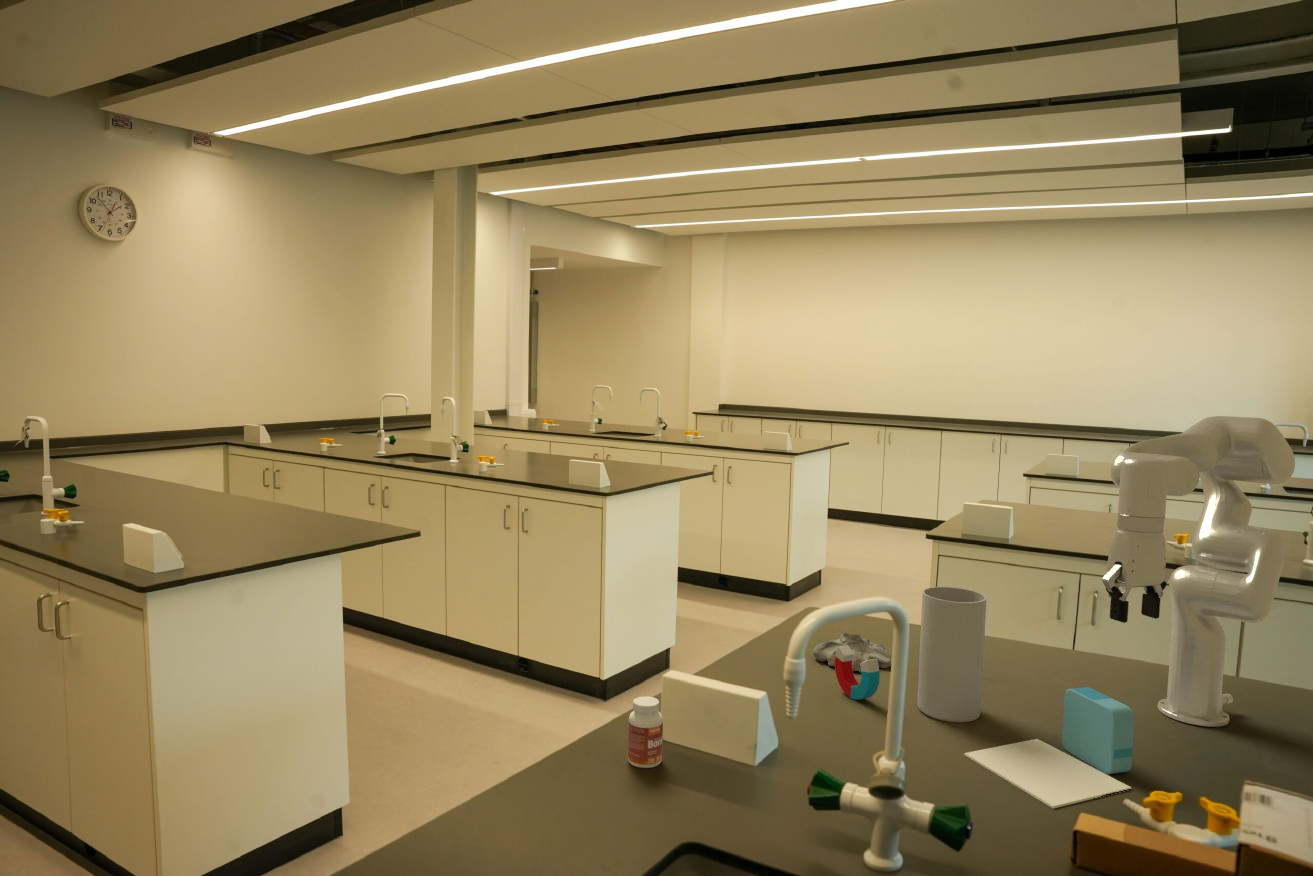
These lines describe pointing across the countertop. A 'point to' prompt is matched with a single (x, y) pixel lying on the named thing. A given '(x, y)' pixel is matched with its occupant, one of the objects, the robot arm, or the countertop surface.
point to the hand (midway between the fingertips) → (1134, 618)
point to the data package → (1098, 730)
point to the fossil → (858, 646)
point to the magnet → (847, 678)
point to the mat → (1046, 773)
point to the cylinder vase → (951, 653)
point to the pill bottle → (645, 733)
